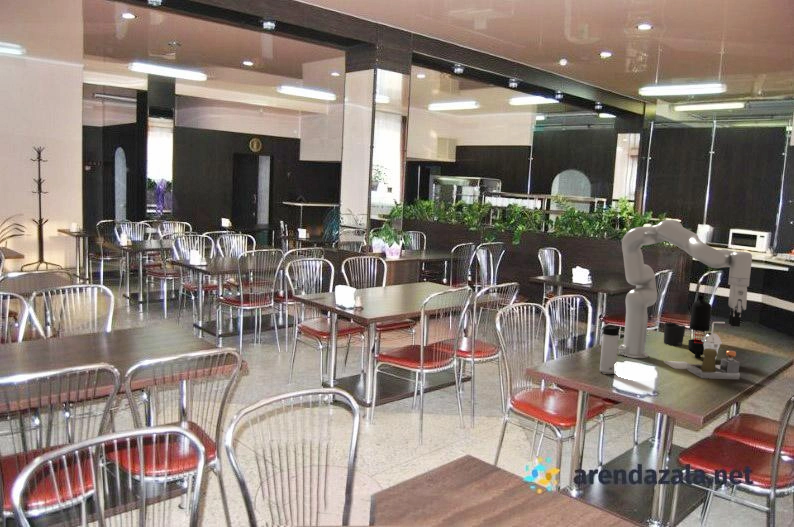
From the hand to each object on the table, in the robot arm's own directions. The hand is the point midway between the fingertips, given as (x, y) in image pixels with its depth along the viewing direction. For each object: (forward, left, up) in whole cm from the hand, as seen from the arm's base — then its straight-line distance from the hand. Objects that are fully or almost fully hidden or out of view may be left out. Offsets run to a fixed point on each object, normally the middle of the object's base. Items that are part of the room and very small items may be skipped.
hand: (734, 324), depth 252 cm
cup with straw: (+3, +21, -22) cm, 31 cm away
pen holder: (+3, +55, -23) cm, 59 cm away
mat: (-14, +15, -22) cm, 30 cm away
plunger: (0, 0, -17) cm, 17 cm away
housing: (-6, +3, -22) cm, 23 cm away
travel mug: (-52, +1, -22) cm, 56 cm away
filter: (+3, +31, -22) cm, 38 cm away
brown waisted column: (-8, +3, -22) cm, 24 cm away
